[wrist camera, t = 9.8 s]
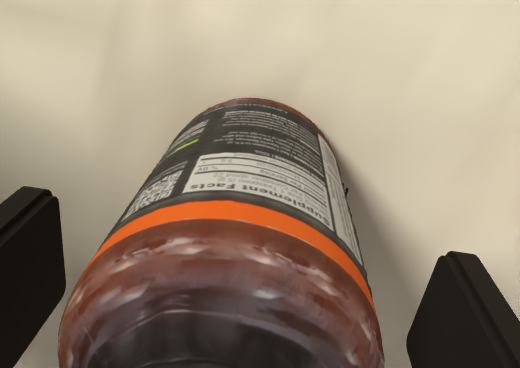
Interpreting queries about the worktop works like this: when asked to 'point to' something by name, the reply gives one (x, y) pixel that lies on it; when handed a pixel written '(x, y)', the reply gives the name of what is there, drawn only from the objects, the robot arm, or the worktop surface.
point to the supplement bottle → (230, 257)
